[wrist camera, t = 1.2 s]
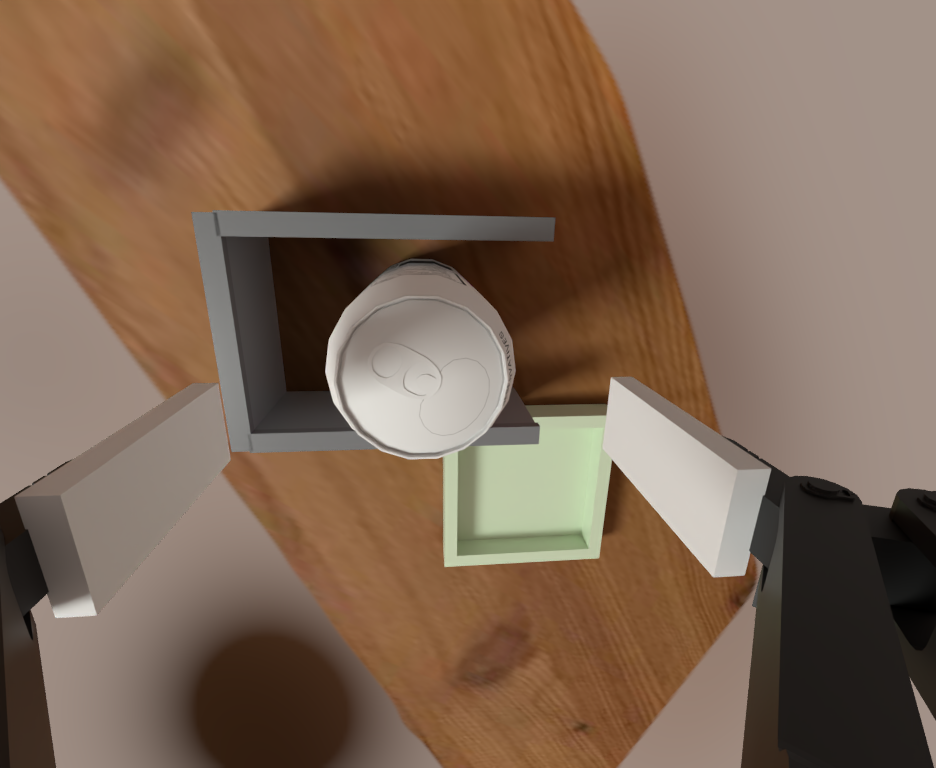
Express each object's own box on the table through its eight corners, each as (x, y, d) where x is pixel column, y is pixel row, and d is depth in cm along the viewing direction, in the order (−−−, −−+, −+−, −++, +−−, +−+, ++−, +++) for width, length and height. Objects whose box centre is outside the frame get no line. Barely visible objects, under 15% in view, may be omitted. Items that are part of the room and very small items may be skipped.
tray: (442, 407, 35) (444, 419, 32) (605, 403, 36) (617, 415, 34) (443, 547, 39) (444, 566, 36) (588, 539, 40) (598, 558, 38)
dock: (247, 215, 29) (191, 209, 22) (524, 221, 31) (555, 217, 24) (272, 405, 33) (232, 453, 26) (514, 400, 35) (538, 444, 28)
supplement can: (499, 296, 32) (560, 345, 18) (441, 390, 34) (456, 501, 20) (399, 234, 30) (381, 234, 16) (344, 337, 32) (283, 419, 18)
